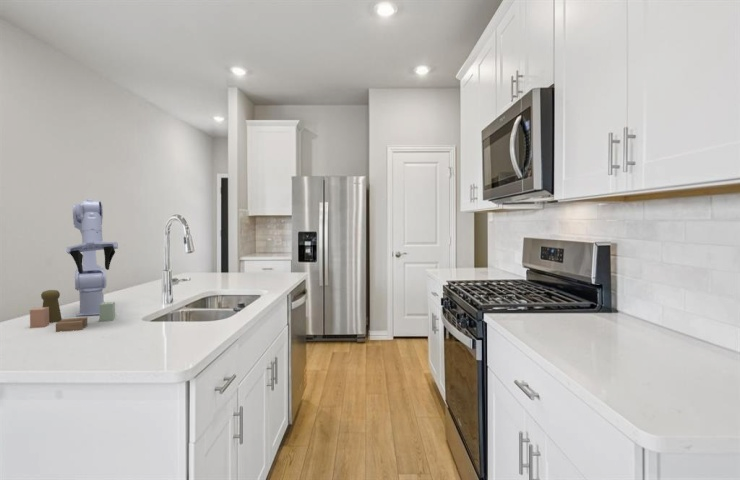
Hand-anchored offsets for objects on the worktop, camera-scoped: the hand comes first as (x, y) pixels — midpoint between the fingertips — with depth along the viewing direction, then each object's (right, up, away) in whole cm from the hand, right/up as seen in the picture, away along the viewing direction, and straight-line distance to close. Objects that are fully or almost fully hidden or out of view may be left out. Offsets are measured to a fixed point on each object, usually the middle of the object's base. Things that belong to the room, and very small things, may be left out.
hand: (93, 270), depth 137 cm
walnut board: (-6, -19, -2) cm, 20 cm away
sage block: (-2, -19, +10) cm, 21 cm away
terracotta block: (-19, -19, +1) cm, 27 cm away
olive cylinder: (-20, -19, +8) cm, 29 cm away
